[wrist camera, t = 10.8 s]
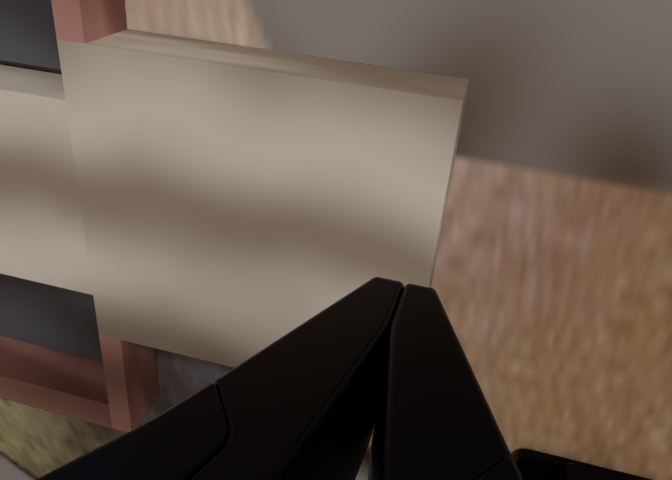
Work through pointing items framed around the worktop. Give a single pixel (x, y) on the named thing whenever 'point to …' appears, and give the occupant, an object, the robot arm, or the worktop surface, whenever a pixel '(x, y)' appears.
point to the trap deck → (194, 198)
